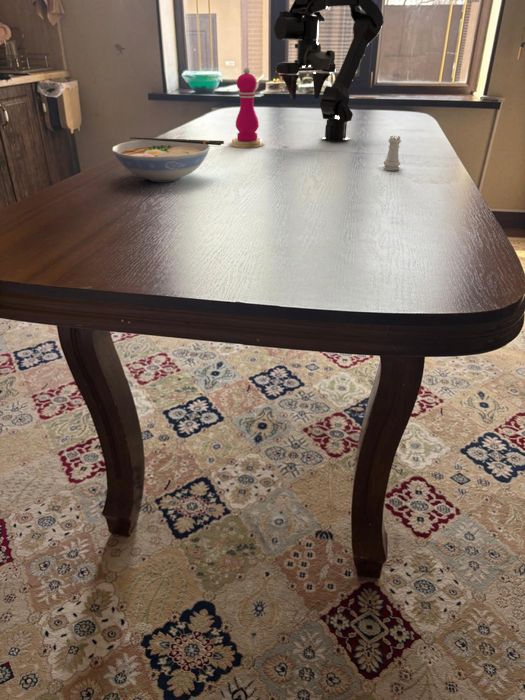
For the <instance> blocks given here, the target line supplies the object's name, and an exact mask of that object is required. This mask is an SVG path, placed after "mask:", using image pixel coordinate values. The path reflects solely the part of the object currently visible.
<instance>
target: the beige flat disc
mask: <svg viewBox="0 0 525 700" xmlns="http://www.w3.org/2000/svg"><path fill="white" fill-rule="evenodd" d="M230 144H231V146H232V147H234V148H240V149H241V148H243V149H251V148H252V149H253V148H259V147H262V145H263V142H262V139H261V138H258V137H257V140H255V141H240V140H238V138H237V137H236V138H232V139H231V143H230Z"/></svg>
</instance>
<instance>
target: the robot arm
mask: <svg viewBox="0 0 525 700" xmlns="http://www.w3.org/2000/svg"><path fill="white" fill-rule="evenodd" d="M345 6H348V7H349V9H350V17H351V18H352V20H353V22H354V23H353V27H352V34H353V38H352V41H351V43H350V45H349V47H348V49H347V53H346V54H345V56H344V57H345V58H344V60H343V62H342V64H341V67H340V69H339V72H338V74H337V76H336V78H335V81H334V83H333V84H331V86H330V85H329V86H325V88H324V89H323V86H324V85H325V82H326V80H327V79H328V78H329V77H330V76H332V75H333V73H336V63H335V59H336V51H334V50H332V49H331V50H330V49H329V50H326V51H322V46H321V44H320V43H319V42H318V40H319V22H325V20H326V19H325V17H324V16H323V15H322V14H321V12H320V11H323V10H326V9H328V8H330V7H345ZM278 13H279V14H278V17H276V19H275V24H274V27H273V30H274V35H275V37H276V39H277V40H278V41H297V43H295V44H294V49H297V55H296V59H294V61H279V62H278V63H277V65H276V74H279V76H280V77H281V78H282V80H283V81H284V84H285V86H286V88H287V91H288V93H289V96H290V99H291V101H293V102H295V101H296V97H297V81H298V79H299V77H300V74H298V73H299V72H304V71H305V72H308V71H310V72H312V82H313V95H314V99H316V100H319V97H320V94H321V92H322V89H323V93H322V95H321V97H320V103H319V107H320V110H321V116H322V119H323V120H326V124H325V129H324V130H325V131H324V137H322V138H321V139H322V140H324V141H329V142H333V143H338V142H344V141H350V138H348V137H346V136H347V126H348V125H347V124H348V122H351V121H352V119H353V116H354V113H353V112H352V110H351V108H350V107H349V106H348V105H349V102H350V88H351V86H352V83H353V81H354V79H355V76H356V74H357V71H358V70H359V67H360V64H361V62H362V59H363V57H364V56H365V53H366V50H367V48H368V47H369V44H370V43H371V42H373V40H374V39H375V38H376V37H378V36H379V35H378V34H379V33H380V31H381V30H382V27H383V25H384V21H385V19H384V16H383V13H382V11H381V10H380V8H379V6H378V5H377V3H375V2H374V1H373V0H294V1H293V3H292V5H291V6H290V8H289V10H287V11H286V10H281V11H278ZM313 71H315V72H313Z"/></svg>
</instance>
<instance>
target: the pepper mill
mask: <svg viewBox="0 0 525 700" xmlns="http://www.w3.org/2000/svg"><path fill="white" fill-rule="evenodd" d="M257 81H258V80H257V79H256V76H254V75H253V74H251V70H250V69H249V68H248V67H245V68H244V69H243V73H242V74H240V75H239V76H238V77H237V80H236V87H237V89H238V90H239V91H238V98H239V100H240V107H239V111H238V113H237V116H236V120H235V128H236V129H237V131H238V133H237V134H236V135H237V137H236V138H238V140H240V141H255V140H257V138H258V133H257V131H258V129H259V127H260V123H259V118H258V115H257V114H256V110H255V107H254V105H255V103H254V101H255V100H254V99H255V98H256V92H255V90H256V88H257V87H258V82H257Z"/></svg>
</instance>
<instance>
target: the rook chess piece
mask: <svg viewBox="0 0 525 700" xmlns="http://www.w3.org/2000/svg"><path fill="white" fill-rule="evenodd" d="M388 143H389V145H388V153H387V156H386V158H385V160H384V161H383V163H382V164H383V166H382V168H383V170H384V171H387V172H397V171H399V170H400V169H401V167H400V165H401V162H400V159H399V149H400V143H402V139H401V136H400V135H391V136H390V137H389V139H388Z"/></svg>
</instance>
